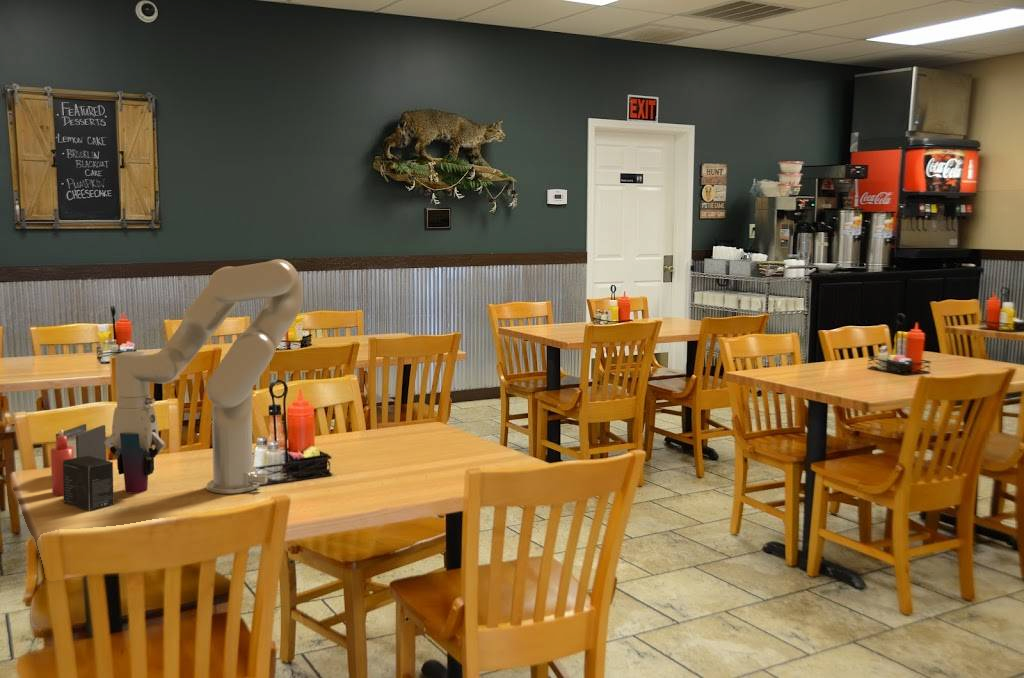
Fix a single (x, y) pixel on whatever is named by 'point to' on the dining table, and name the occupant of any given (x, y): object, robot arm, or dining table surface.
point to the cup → (133, 464)
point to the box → (88, 482)
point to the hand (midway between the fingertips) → (135, 473)
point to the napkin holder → (87, 441)
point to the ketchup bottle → (59, 463)
